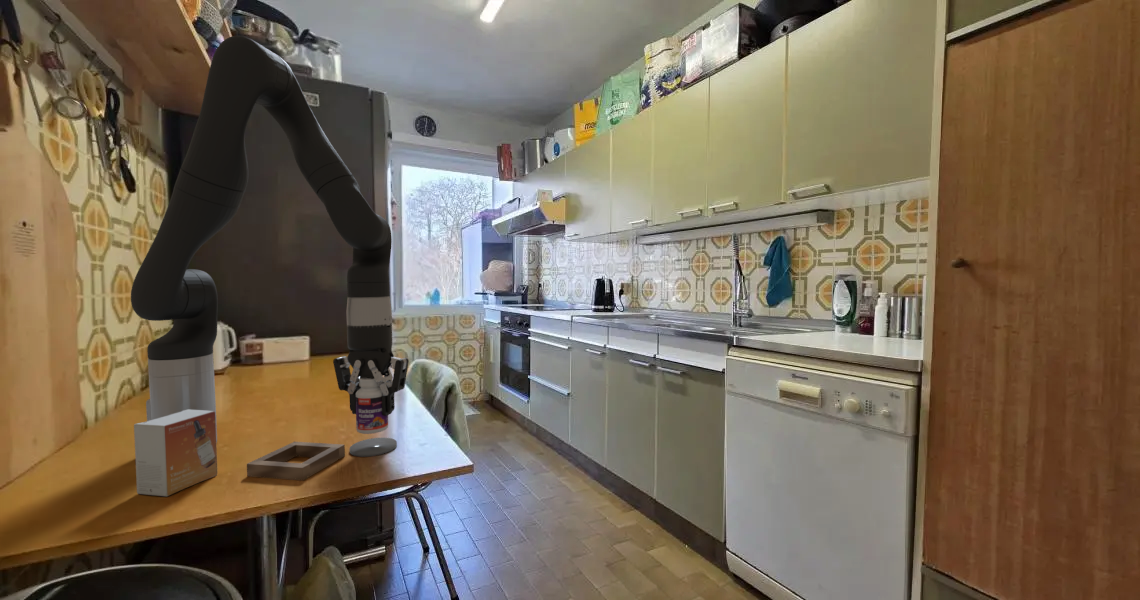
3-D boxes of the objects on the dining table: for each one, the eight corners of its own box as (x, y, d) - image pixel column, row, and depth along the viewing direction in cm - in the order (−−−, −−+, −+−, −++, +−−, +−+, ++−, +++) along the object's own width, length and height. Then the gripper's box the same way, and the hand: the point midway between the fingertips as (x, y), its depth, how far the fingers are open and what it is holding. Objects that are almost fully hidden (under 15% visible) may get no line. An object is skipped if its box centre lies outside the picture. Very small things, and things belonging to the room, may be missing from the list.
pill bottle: (355, 436, 81) (353, 381, 80) (357, 427, 86) (355, 375, 85) (388, 432, 83) (387, 378, 82) (388, 423, 88) (387, 373, 87)
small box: (166, 498, 66) (162, 426, 65) (135, 494, 67) (131, 423, 66) (219, 474, 74) (216, 410, 73) (191, 472, 75) (188, 408, 74)
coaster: (339, 455, 81) (339, 452, 81) (366, 439, 89) (366, 436, 89) (381, 458, 80) (381, 454, 80) (405, 441, 88) (404, 438, 88)
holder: (247, 476, 73) (246, 463, 73) (294, 452, 83) (294, 441, 83) (303, 480, 71) (302, 467, 71) (344, 455, 81) (344, 444, 81)
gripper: (319, 323, 81) (323, 418, 82) (394, 324, 78) (397, 421, 79) (347, 319, 88) (350, 406, 89) (416, 320, 86) (419, 409, 87)
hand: (372, 413), depth 84 cm, fingers closed on pill bottle, 5 cm apart
